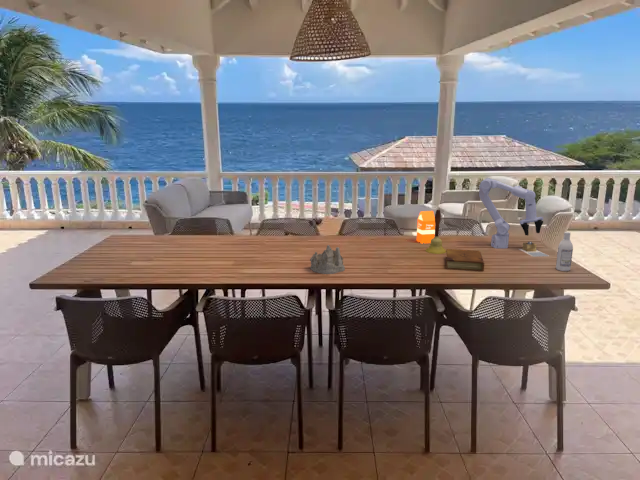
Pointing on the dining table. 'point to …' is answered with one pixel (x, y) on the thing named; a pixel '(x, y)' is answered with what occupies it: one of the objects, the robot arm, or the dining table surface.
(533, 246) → the collar
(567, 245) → the bath foam
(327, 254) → the grey sandcastle
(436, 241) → the handbell
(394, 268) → the dining table surface
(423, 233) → the orange juice
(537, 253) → the board
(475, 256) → the diary
